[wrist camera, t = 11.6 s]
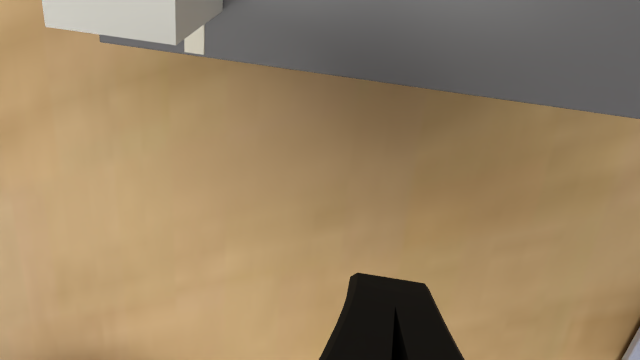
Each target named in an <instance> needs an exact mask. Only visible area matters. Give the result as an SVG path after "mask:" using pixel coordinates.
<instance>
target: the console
mask: <svg viewBox="0 0 640 360" xmlns="http://www.w3.org/2000/svg"><path fill="white" fill-rule="evenodd" d="M99 36H100V42H103V43H110V44H117V45H124V46H131V47H138V48H145V49H152V50H159V51H166V52H173V53H180V54H187V55H194V56H201V57H208V58H215V59H222V60H230V61H237V62H244V63H251V64H258V65H265V66H272V67H279V68H286V69H293V70H300V71H307V72H314V73H321V74H328V75H335V76H342V77H349V78H356V79H363V80H370V81H377V82H384V83H391V84H398V85H405V86H412V87H419V88H426V89H433V90H440V91H447V92H454V93H461V94H468V95H475V96H482V97H489V98H496V99H503V100H510V101H517V102H524V103H531V104H538V105H545V106H552V107H559V108H566V109H573V110H580V111H587V112H594V113H601V114H608V115H615V116H622V117H629V118H636V119H640V0H223V11H222V12H220V13H219V14H218V15H216V16H215V17H213V18H212V19H211V20H209V21H208V22H207V23H205V24H204V25H203V26H201V27H200V28H199V29H197V30H196V31H195V32H193V33H192V34H191V35H189V36H188V37H186V38H185V39H184V40H182V41H181V42H180V43H178V44H177V45H170V44H163V43H156V42H149V41H142V40H135V39H128V38H121V37H114V36H107V35H100V34H99Z"/></svg>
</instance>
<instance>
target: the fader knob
mask: <svg viewBox="0 0 640 360" xmlns="http://www.w3.org/2000/svg"><path fill="white" fill-rule="evenodd" d="M42 5H43V12H44V19H45V27H51V28H58V29H65V30H72V31H79V32H86V33H93V34H100V35H107V36H114V37H121V38H128V39H135V40H142V41H149V42H156V43H163V44H170V45H177V44H178V43H180V42H181V41H182V40H184V39H185V38H186V37H188V36H189V35H191V34H192V33H193V32H195V31H196V30H197V29H199V28H200V27H201V26H203V25H204V24H205V23H207V22H208V21H209V20H211V19H212V18H213V17H215V16H216V15H218V14H219V13H220V12H222V11H223V0H42Z"/></svg>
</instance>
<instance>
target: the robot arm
mask: <svg viewBox="0 0 640 360" xmlns="http://www.w3.org/2000/svg"><path fill="white" fill-rule="evenodd" d="M319 360H464V358H463V356H462V354H461V353H460V351H459V349H458V347H457V345H456V343H455V341H454V340H453V338H452V336H451V334H450V332H449V330H448V328H447V326H446V324H445V322H444V320H443V318H442V316H441V314H440V312H439V310H438V308H437V306H436V304H435V301H434V299H433V297H432V295H431V293H430V290H429V289H428V287H427V286H426V285H425V284H424V283H418V282H412V281H406V280H399V279H393V278H387V277H381V276H375V275H368V274H362V273H356V274H354V275H353V276H351V277H350V281H349V286H348V292H347V297H346V301H345V304H344V306H343V309H342V312H341V314H340V317H339V319H338V322H337V324H336V326H335V328H334V330H333V332H332V334H331V336H330V338H329V340H328V343H327V345H326V347H325V349H324V351H323V353H322V355H321V357H320V358H319ZM622 360H640V327H639V329H638V331H637V333H636V334H635V336H634V338H633V340H632V342H631V344H630V345H629V347H628V349H627V351H626V353H625V354H624V356H623V358H622Z"/></svg>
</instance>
